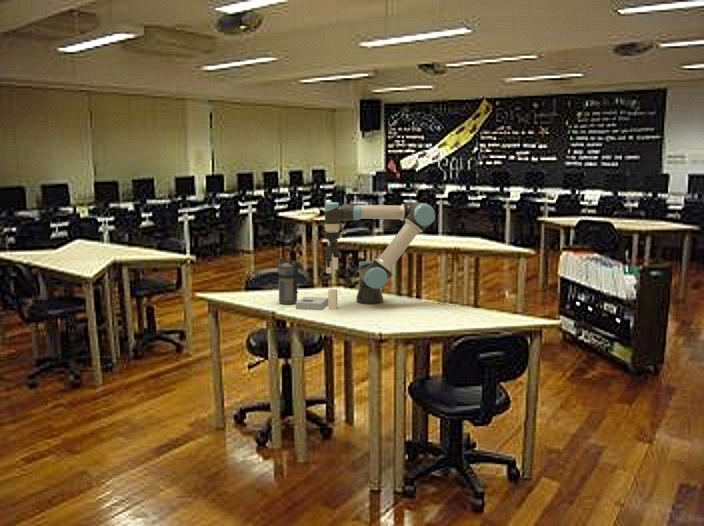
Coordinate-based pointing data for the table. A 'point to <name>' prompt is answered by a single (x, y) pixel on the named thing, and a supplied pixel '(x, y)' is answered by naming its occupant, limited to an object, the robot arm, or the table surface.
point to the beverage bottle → (288, 281)
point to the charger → (332, 299)
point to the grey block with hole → (312, 303)
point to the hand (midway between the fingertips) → (332, 271)
